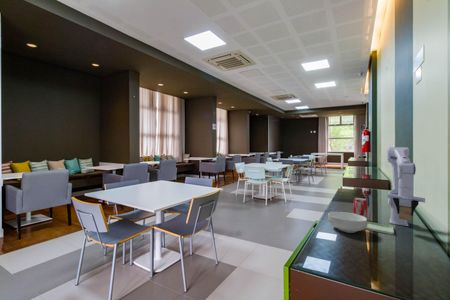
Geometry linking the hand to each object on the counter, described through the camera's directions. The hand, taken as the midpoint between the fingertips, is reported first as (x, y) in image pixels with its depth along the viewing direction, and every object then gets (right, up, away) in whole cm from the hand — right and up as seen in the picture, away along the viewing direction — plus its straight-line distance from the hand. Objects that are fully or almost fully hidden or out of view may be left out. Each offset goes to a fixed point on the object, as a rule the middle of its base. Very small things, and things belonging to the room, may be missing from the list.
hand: (404, 214), depth 110 cm
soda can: (-12, -8, +18) cm, 23 cm away
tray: (-11, -8, +3) cm, 14 cm away
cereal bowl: (-29, -8, 0) cm, 30 cm away
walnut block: (0, -2, 0) cm, 2 cm away
